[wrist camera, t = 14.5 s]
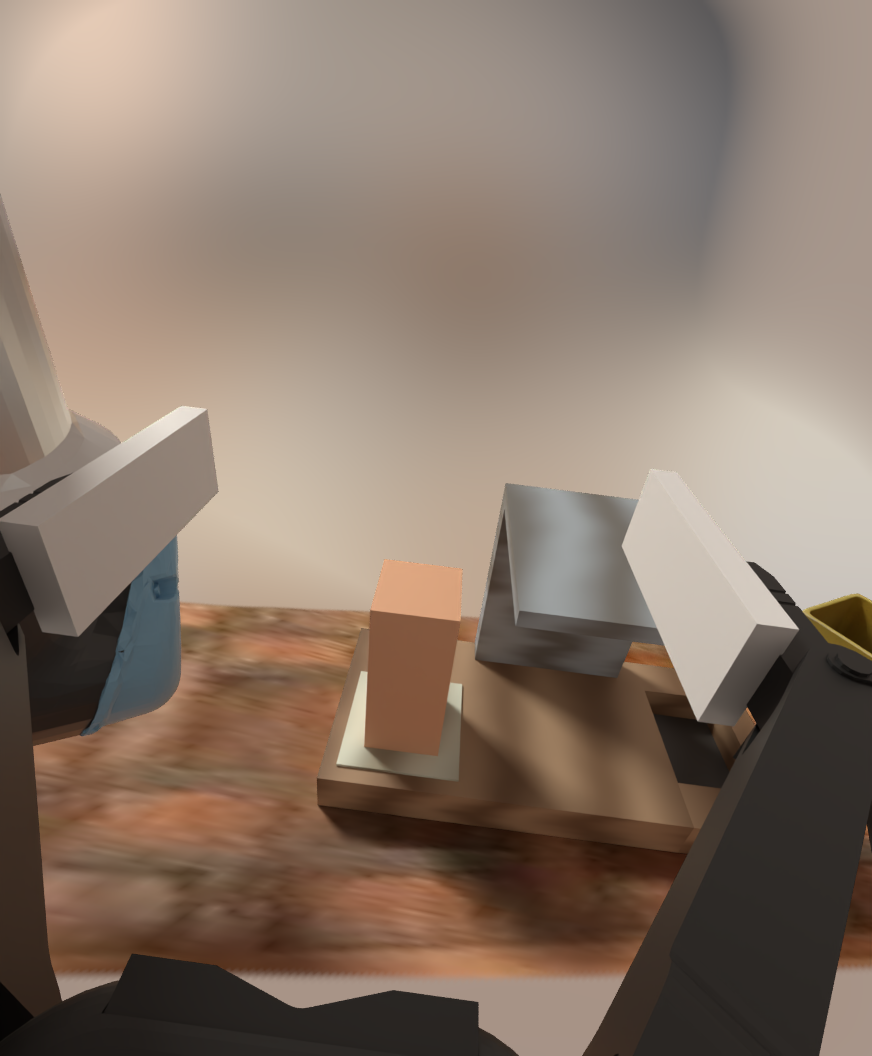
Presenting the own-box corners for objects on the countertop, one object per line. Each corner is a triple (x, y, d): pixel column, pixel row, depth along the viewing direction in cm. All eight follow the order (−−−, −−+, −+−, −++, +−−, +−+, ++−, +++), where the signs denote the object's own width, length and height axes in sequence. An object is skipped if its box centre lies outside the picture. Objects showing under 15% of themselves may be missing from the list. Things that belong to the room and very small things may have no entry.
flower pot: (810, 660, 51) (857, 590, 46) (907, 730, 44) (974, 656, 40) (754, 682, 47) (800, 609, 43) (851, 762, 41) (917, 686, 36)
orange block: (364, 746, 34) (370, 610, 28) (376, 688, 38) (384, 559, 32) (437, 756, 34) (460, 621, 28) (441, 696, 38) (462, 568, 32)
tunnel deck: (317, 804, 33) (310, 583, 24) (360, 653, 45) (366, 465, 36) (798, 868, 33) (985, 670, 23) (713, 698, 45) (813, 521, 35)
